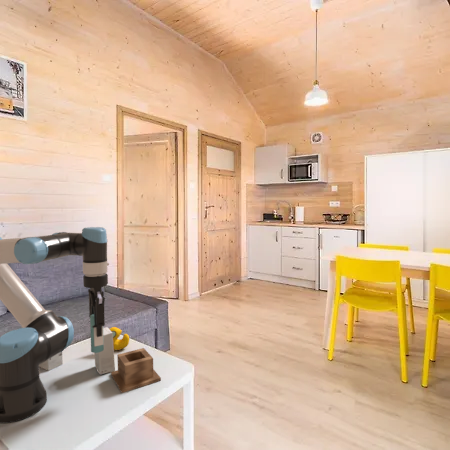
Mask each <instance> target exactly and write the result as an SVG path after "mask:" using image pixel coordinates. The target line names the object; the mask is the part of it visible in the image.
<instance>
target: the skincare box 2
mask: <svg viewBox="0 0 450 450" xmlns="http://www.w3.org/2000/svg"><path fill="white" fill-rule="evenodd" d="M103 336H104V350H103V351H101V352H98V353H94V366H95V368H96V370H97V372H98V373H99V375H100V376H101V375H103V374H104V375H105V374H107V373H111V372H113V371H116V364H115V351H114V347H113V333H112V332H111V330H110V328H109V327H108V326H105V327H103Z"/></svg>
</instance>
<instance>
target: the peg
mask: <svg viewBox="0 0 450 450" xmlns="http://www.w3.org/2000/svg"><path fill="white" fill-rule="evenodd" d="M89 318H90V319H89V323H90V324H89V326H90V352H91V353H94V354H95V353H98V352H101V351H103V350H104V336H103V345H99V346H94V328H93V327H92V326H94V325H95V322H94V314H92V315H90V317H89Z"/></svg>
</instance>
